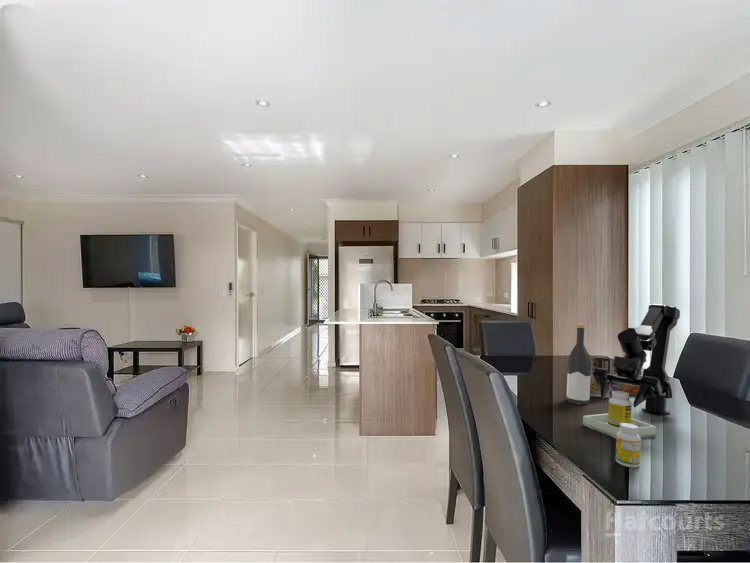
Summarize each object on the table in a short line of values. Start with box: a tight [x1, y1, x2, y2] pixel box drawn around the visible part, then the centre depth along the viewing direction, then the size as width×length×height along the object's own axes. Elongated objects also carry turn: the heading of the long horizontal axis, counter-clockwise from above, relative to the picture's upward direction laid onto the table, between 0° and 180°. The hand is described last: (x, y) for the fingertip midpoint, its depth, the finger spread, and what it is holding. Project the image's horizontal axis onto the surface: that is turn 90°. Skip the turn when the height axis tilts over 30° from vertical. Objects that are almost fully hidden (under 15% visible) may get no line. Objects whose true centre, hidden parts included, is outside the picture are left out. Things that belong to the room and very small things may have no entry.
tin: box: [610, 373, 643, 397], centre depth 181 cm, size 15×3×8 cm, turn 68°
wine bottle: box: [566, 323, 591, 405], centre depth 165 cm, size 8×8×30 cm
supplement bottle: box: [615, 423, 642, 468], centre depth 108 cm, size 5×5×10 cm
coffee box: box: [589, 354, 611, 399], centre depth 177 cm, size 9×6×16 cm
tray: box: [582, 412, 657, 439], centre depth 133 cm, size 14×14×3 cm
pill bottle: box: [607, 390, 633, 428], centre depth 133 cm, size 6×6×11 cm
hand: (617, 402), depth 132 cm, fingers open, 9 cm apart
